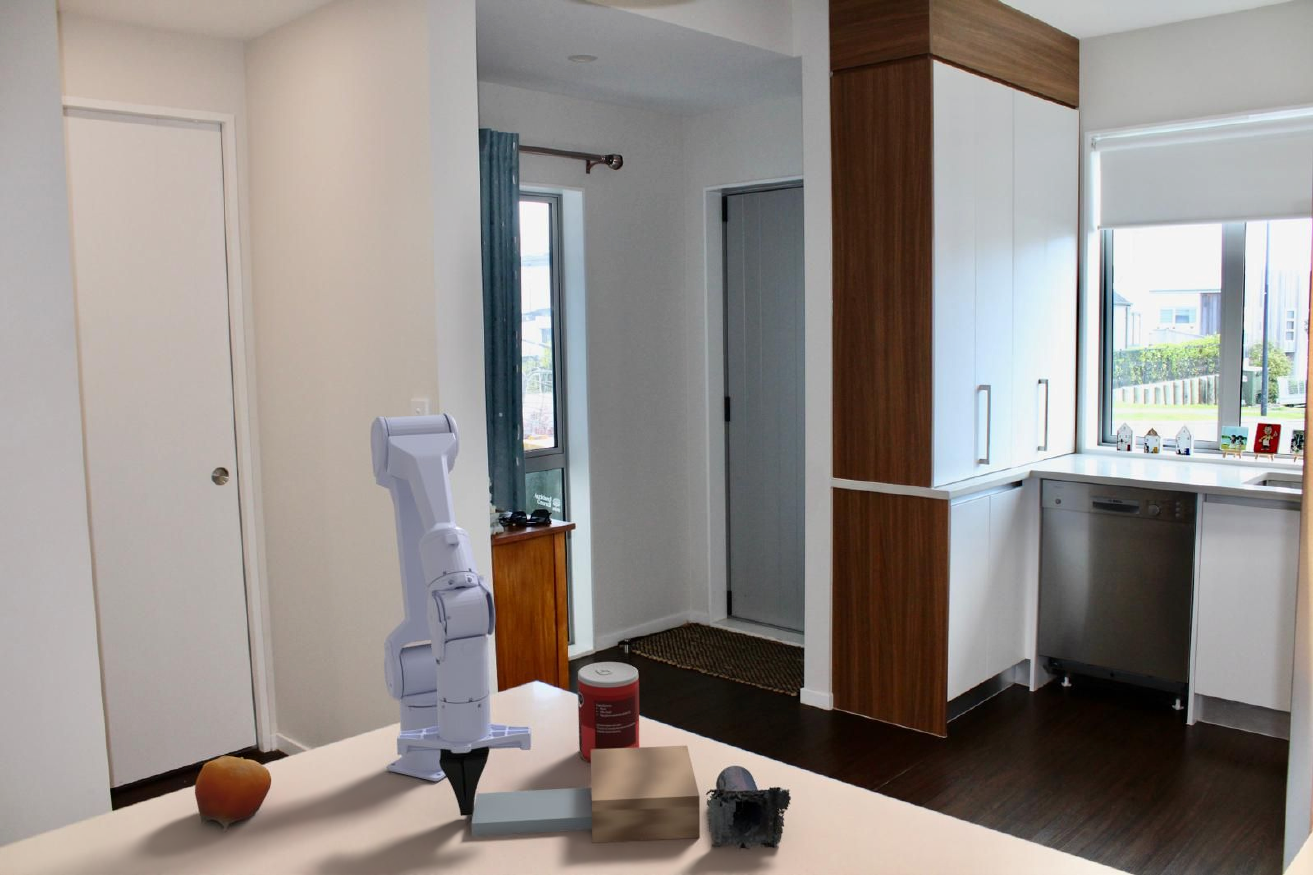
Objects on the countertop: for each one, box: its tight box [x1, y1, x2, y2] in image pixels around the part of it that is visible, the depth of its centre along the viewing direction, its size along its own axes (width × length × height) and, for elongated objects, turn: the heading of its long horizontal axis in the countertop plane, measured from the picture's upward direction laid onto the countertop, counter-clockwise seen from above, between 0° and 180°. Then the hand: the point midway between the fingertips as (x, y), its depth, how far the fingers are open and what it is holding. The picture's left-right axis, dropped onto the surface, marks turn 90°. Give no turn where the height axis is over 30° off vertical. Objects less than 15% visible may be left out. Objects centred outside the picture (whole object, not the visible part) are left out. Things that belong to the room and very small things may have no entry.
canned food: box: [577, 661, 640, 764], centre depth 129 cm, size 8×8×11 cm
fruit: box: [194, 755, 272, 833], centre depth 114 cm, size 8×8×8 cm
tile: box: [471, 786, 592, 837], centre depth 113 cm, size 13×7×2 cm, turn 95°
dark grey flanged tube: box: [705, 765, 792, 850], centre depth 111 cm, size 9×8×12 cm
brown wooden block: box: [590, 745, 701, 844], centre depth 114 cm, size 12×13×5 cm
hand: (467, 811), depth 113 cm, fingers closed
